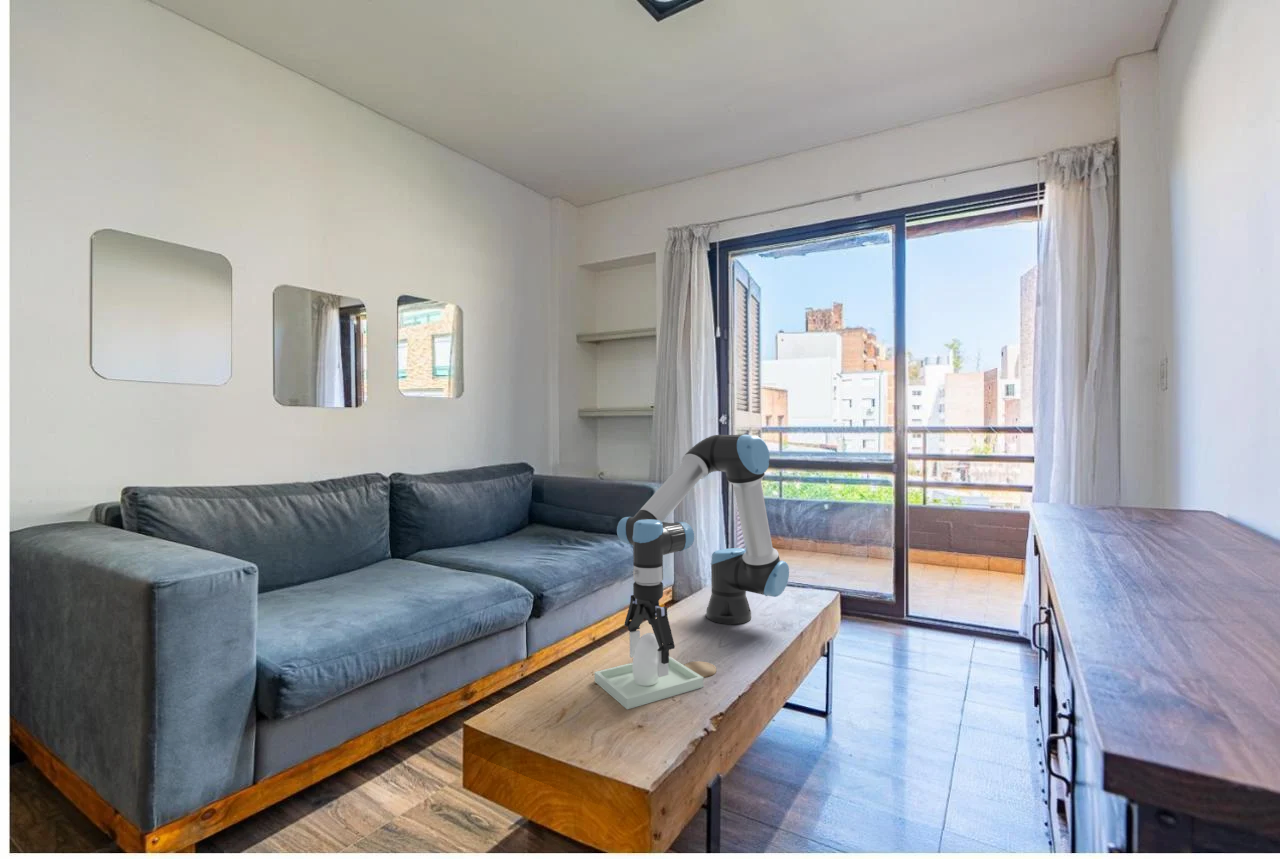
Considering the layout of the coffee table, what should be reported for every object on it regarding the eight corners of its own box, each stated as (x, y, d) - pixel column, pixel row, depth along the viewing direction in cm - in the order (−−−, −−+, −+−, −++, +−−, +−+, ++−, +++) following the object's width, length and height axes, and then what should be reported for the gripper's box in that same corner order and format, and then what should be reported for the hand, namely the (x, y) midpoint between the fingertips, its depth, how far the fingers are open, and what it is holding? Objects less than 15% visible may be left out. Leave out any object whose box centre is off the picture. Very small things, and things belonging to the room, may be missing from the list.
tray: (666, 662, 157) (666, 654, 157) (703, 686, 142) (703, 677, 142) (594, 681, 146) (594, 671, 146) (627, 709, 131) (627, 699, 131)
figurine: (660, 687, 140) (658, 639, 140) (630, 686, 142) (628, 638, 142) (665, 675, 147) (662, 628, 147) (636, 674, 149) (634, 628, 149)
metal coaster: (696, 660, 159) (696, 658, 159) (723, 669, 152) (723, 668, 152) (675, 670, 152) (675, 668, 152) (702, 680, 146) (702, 678, 146)
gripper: (611, 572, 153) (612, 651, 153) (662, 596, 131) (662, 688, 131) (636, 569, 157) (636, 646, 157) (688, 591, 135) (689, 680, 135)
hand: (648, 665), depth 144 cm, fingers open, 13 cm apart
